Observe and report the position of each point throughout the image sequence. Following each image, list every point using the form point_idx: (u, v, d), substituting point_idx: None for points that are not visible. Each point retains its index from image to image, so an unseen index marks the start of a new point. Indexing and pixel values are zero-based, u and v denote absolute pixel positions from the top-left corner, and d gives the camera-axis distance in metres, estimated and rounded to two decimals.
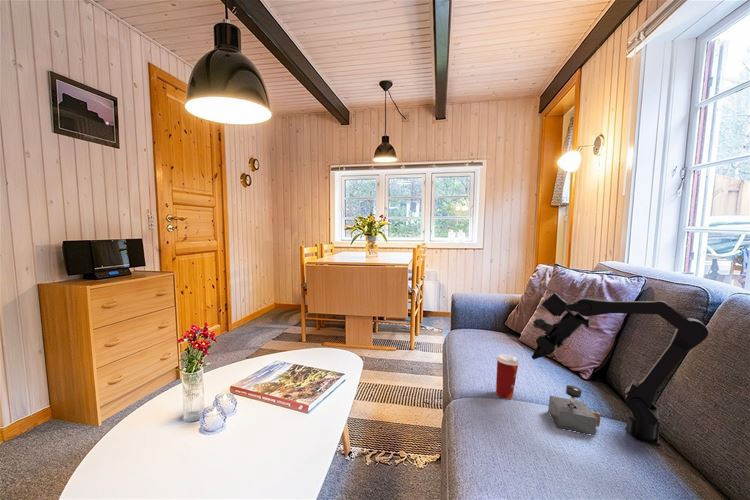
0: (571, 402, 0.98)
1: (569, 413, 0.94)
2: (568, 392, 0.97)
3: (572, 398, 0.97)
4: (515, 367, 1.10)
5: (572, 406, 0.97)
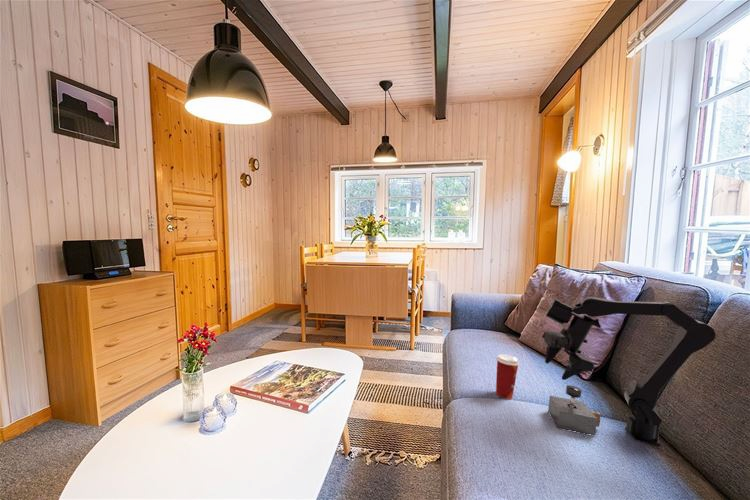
0: (571, 402, 0.98)
1: (569, 413, 0.94)
2: (568, 392, 0.97)
3: (572, 398, 0.97)
4: (515, 367, 1.10)
5: (572, 406, 0.97)
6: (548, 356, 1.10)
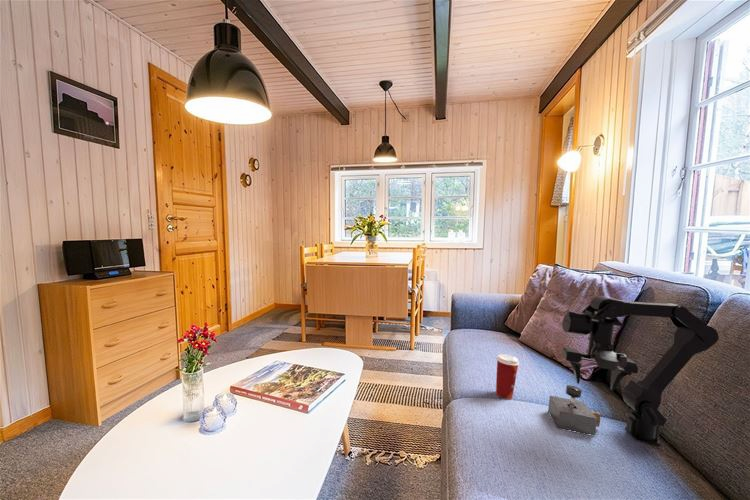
0: (571, 402, 0.98)
1: (569, 413, 0.94)
2: (568, 392, 0.97)
3: (572, 398, 0.97)
4: (515, 367, 1.10)
5: (572, 406, 0.97)
6: None
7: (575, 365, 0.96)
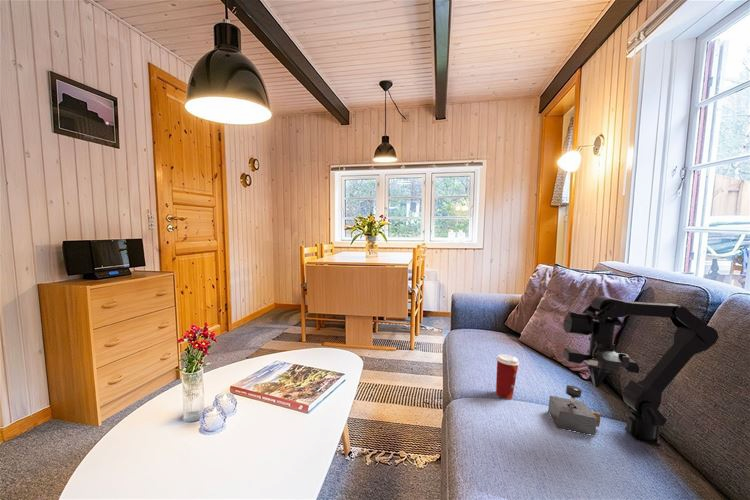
0: (571, 402, 0.98)
1: (569, 413, 0.94)
2: (568, 392, 0.97)
3: (572, 398, 0.97)
4: (515, 367, 1.10)
5: (572, 406, 0.97)
6: None
7: (593, 369, 0.94)
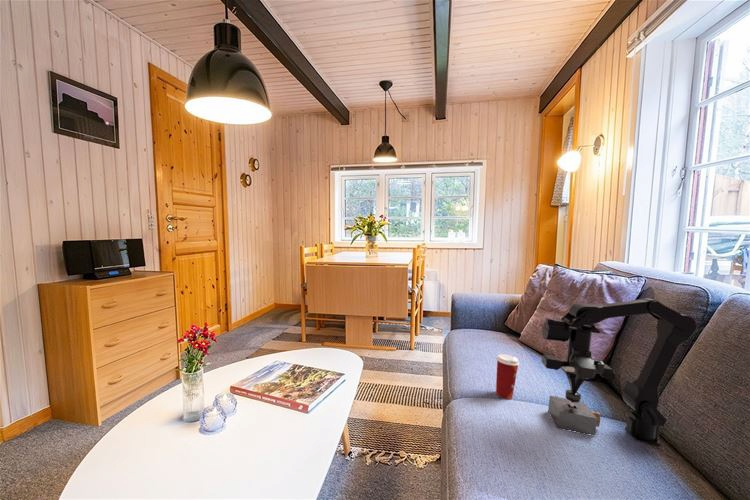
0: (570, 407, 0.98)
1: (569, 413, 0.94)
2: (567, 397, 0.97)
3: (571, 403, 0.97)
4: (515, 367, 1.10)
5: None
6: None
7: (570, 375, 0.96)
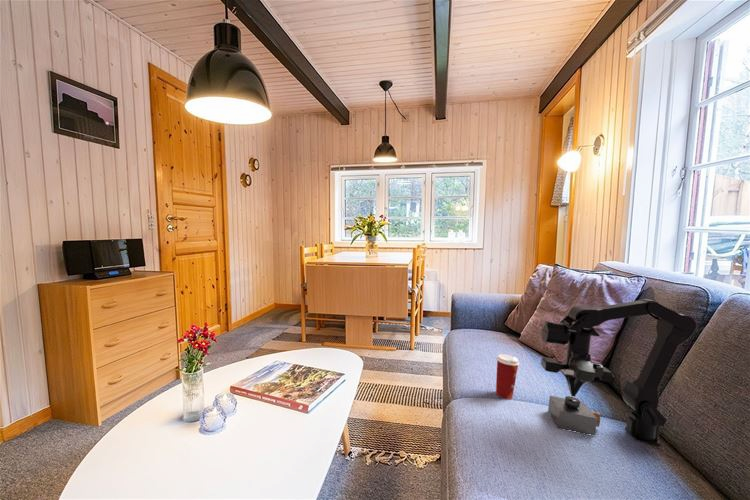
0: None
1: (569, 413, 0.94)
2: (567, 403, 0.97)
3: None
4: (515, 367, 1.10)
5: None
6: None
7: (570, 378, 0.96)
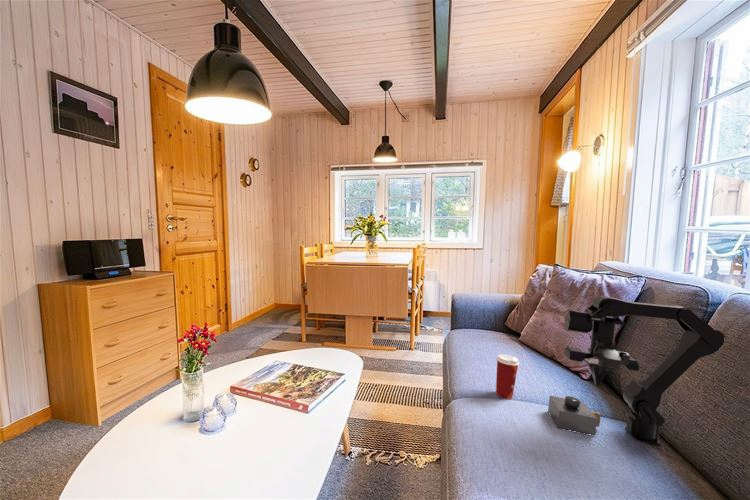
0: None
1: (569, 413, 0.94)
2: (567, 403, 0.97)
3: None
4: (515, 367, 1.10)
5: None
6: None
7: (594, 367, 0.96)
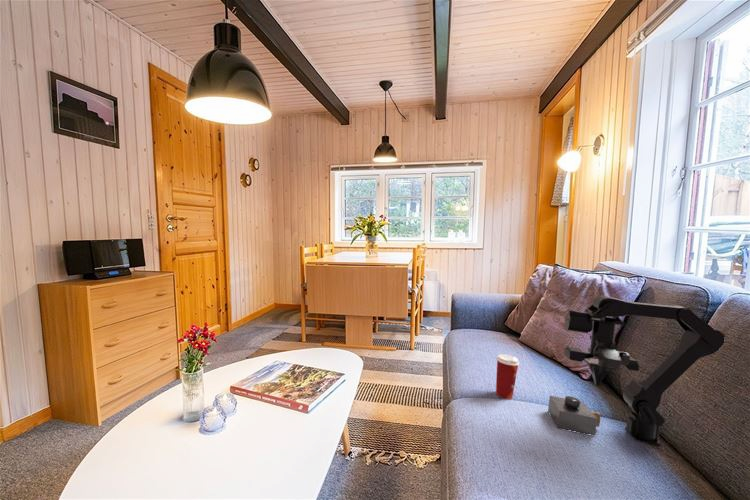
0: None
1: (569, 413, 0.94)
2: (567, 403, 0.97)
3: None
4: (515, 367, 1.10)
5: None
6: None
7: (594, 367, 0.96)
